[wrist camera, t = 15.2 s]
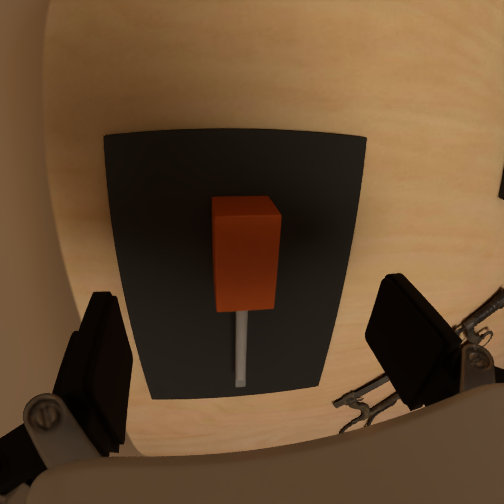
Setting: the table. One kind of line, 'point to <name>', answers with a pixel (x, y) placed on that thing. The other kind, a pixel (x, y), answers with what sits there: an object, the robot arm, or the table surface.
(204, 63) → the table surface
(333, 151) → the mat
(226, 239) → the screwdriver
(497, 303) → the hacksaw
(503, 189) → the tray
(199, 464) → the robot arm
